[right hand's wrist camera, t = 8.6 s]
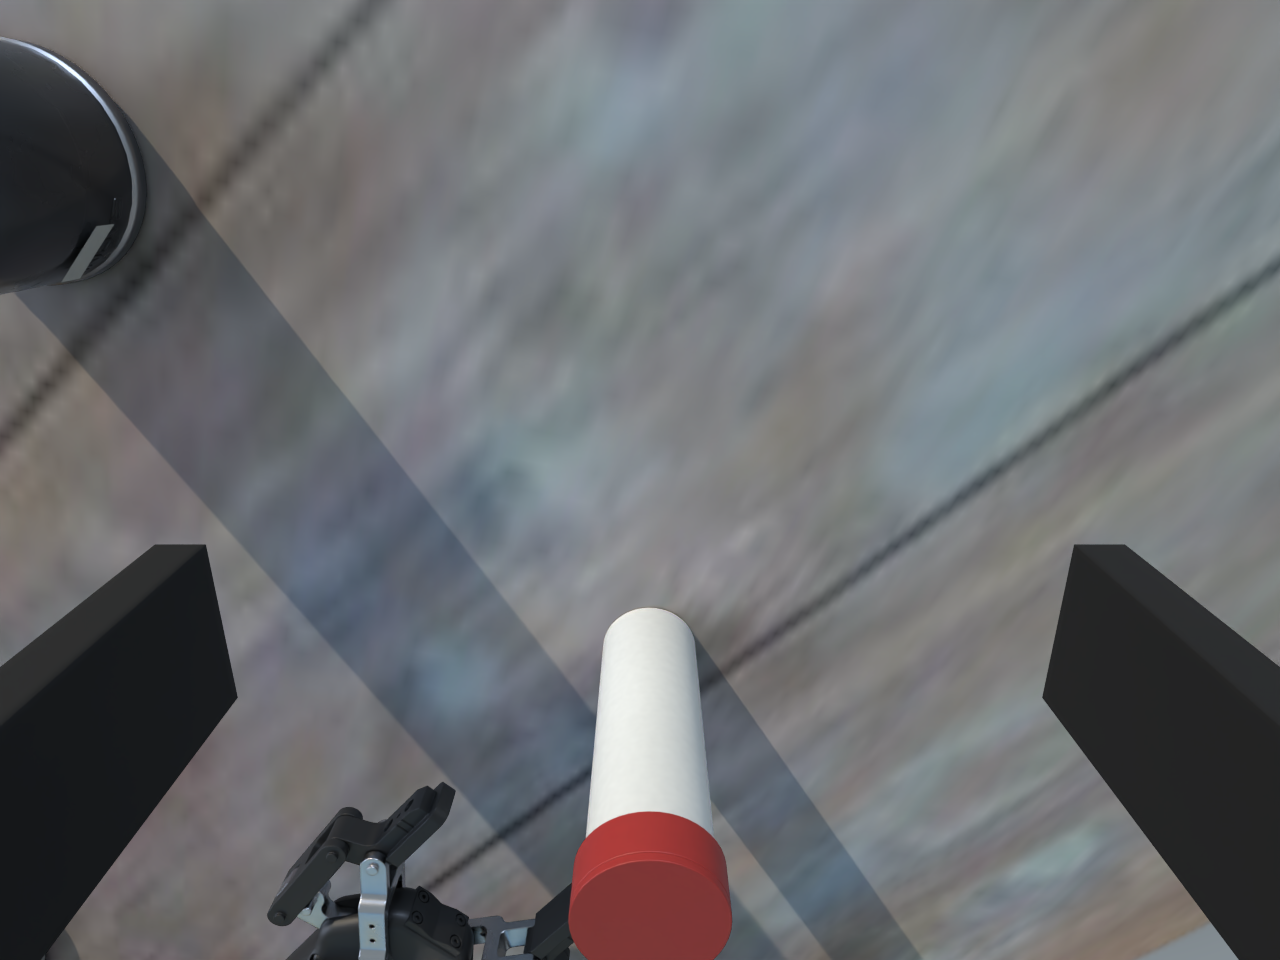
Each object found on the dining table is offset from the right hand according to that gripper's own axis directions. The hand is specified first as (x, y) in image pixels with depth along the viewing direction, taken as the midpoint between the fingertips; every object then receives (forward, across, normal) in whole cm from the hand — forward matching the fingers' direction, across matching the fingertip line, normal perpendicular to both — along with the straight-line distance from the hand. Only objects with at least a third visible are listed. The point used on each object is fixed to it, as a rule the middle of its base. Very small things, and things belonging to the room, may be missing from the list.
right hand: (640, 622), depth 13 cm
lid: (+9, 0, +17) cm, 19 cm away
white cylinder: (+25, 0, +17) cm, 30 cm away
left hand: (+19, +6, +23) cm, 30 cm away
